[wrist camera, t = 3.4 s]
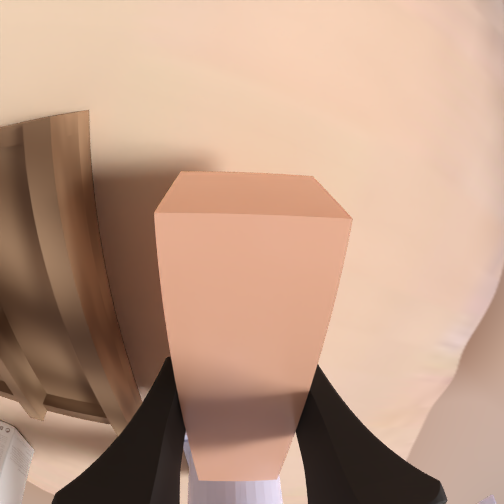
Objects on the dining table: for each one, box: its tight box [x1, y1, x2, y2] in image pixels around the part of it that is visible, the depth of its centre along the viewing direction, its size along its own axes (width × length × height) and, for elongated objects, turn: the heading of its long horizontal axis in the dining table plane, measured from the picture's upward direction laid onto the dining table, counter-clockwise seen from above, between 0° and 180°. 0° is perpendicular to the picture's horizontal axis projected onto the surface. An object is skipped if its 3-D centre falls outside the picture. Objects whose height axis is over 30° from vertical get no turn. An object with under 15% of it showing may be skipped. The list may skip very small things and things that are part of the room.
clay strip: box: [154, 171, 353, 481], centre depth 11 cm, size 14×4×4 cm, turn 176°
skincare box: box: [0, 420, 34, 504], centre depth 17 cm, size 6×4×12 cm
